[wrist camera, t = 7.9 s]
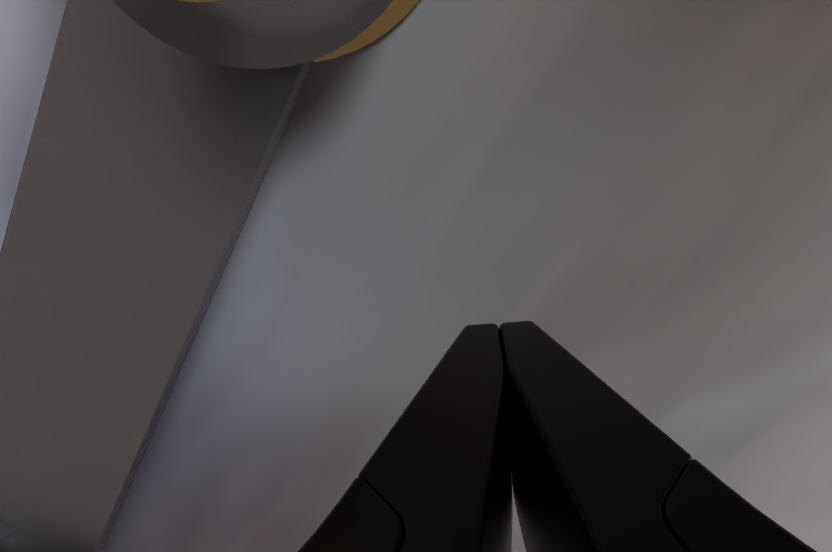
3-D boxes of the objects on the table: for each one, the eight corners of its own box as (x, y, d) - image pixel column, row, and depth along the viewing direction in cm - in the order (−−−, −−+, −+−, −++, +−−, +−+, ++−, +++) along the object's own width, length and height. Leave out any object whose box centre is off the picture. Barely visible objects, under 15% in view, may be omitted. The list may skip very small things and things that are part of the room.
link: (174, -405, 12) (101, -492, 9) (493, -207, 13) (507, -235, 10) (-74, 529, 22) (-142, 613, 19) (117, 595, 23) (77, 682, 20)
